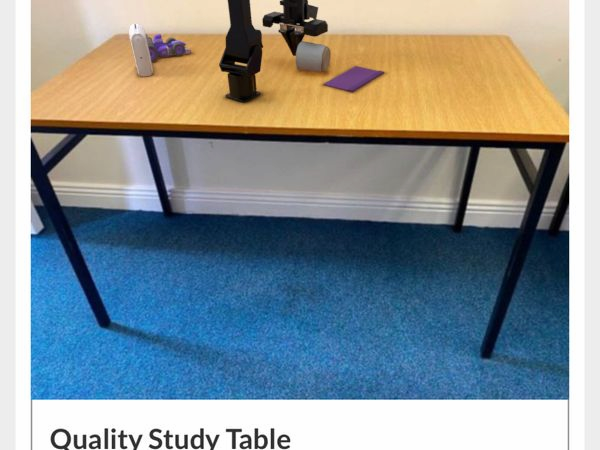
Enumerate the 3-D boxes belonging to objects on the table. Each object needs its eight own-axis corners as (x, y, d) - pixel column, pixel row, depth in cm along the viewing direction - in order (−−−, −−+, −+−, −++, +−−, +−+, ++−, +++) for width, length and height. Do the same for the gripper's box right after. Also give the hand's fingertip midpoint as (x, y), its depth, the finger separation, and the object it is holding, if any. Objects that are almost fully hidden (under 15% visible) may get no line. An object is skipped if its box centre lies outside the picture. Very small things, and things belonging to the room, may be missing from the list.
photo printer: (154, 75, 131) (144, 29, 124) (138, 77, 131) (127, 31, 123) (152, 63, 139) (142, 19, 132) (137, 65, 138) (126, 21, 131)
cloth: (352, 92, 119) (352, 90, 118) (323, 85, 123) (323, 83, 123) (384, 73, 129) (384, 71, 128) (355, 67, 133) (355, 65, 133)
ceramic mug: (323, 77, 127) (324, 48, 123) (295, 74, 129) (294, 45, 125) (334, 64, 135) (335, 36, 131) (307, 62, 137) (307, 34, 133)
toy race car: (193, 54, 145) (189, 32, 141) (144, 64, 139) (139, 41, 135) (182, 46, 151) (179, 25, 147) (136, 55, 146) (130, 33, 142)
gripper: (340, -7, 125) (338, 53, 134) (285, -15, 134) (287, 42, 143) (315, 2, 118) (315, 65, 127) (259, -7, 127) (263, 52, 137)
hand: (295, 55), depth 134 cm, fingers closed
